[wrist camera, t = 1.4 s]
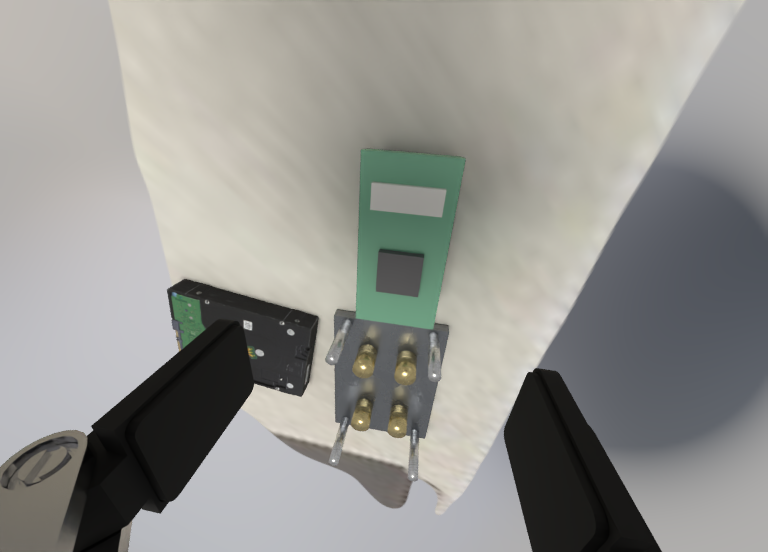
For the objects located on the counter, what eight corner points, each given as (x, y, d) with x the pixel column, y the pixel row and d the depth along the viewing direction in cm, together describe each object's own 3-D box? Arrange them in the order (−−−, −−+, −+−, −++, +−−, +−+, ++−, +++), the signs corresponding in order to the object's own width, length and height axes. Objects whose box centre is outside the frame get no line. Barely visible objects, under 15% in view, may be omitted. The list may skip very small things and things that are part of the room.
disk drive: (321, 311, 29) (185, 275, 29) (311, 327, 26) (162, 288, 27) (311, 379, 34) (195, 348, 34) (302, 398, 31) (177, 365, 31)
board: (367, 148, 18) (358, 150, 16) (461, 156, 17) (467, 159, 15) (361, 304, 23) (353, 322, 21) (432, 314, 23) (433, 334, 20)
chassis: (337, 309, 28) (315, 350, 22) (448, 325, 27) (453, 372, 21) (337, 414, 35) (321, 464, 30) (425, 430, 34) (424, 485, 29)
